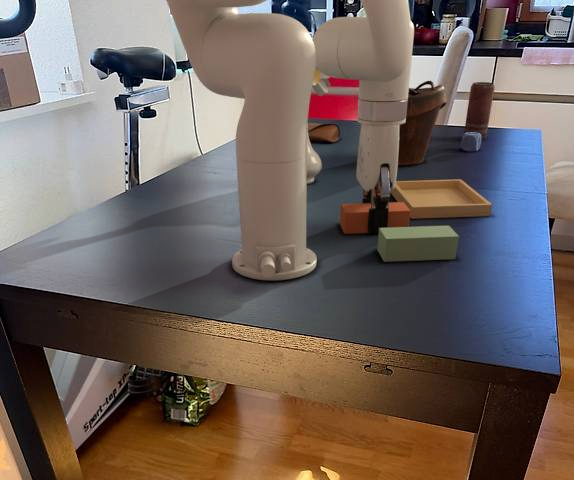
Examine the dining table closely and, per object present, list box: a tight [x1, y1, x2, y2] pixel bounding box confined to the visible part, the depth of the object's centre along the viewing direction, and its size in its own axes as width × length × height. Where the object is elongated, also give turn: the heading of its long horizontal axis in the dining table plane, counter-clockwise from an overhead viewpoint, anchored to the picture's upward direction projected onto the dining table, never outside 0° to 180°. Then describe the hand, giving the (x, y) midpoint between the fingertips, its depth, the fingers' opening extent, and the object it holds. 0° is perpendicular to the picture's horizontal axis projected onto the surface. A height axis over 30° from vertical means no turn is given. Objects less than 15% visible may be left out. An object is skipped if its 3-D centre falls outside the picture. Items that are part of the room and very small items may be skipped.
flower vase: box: [307, 67, 332, 185], centre depth 119 cm, size 13×18×25 cm
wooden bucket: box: [397, 80, 448, 167], centre depth 136 cm, size 18×20×18 cm
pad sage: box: [377, 225, 460, 263], centre depth 88 cm, size 5×11×4 cm, turn 94°
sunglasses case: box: [308, 122, 341, 144], centre depth 162 cm, size 18×7×7 cm
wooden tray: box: [390, 178, 493, 220], centre depth 110 cm, size 18×15×2 cm
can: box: [463, 81, 495, 141], centre depth 158 cm, size 6×6×14 cm
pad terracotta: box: [339, 201, 411, 235], centre depth 98 cm, size 5×11×4 cm, turn 94°
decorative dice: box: [460, 132, 482, 153], centre depth 148 cm, size 4×4×4 cm
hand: (373, 225), depth 99 cm, fingers closed on pad terracotta, 5 cm apart
